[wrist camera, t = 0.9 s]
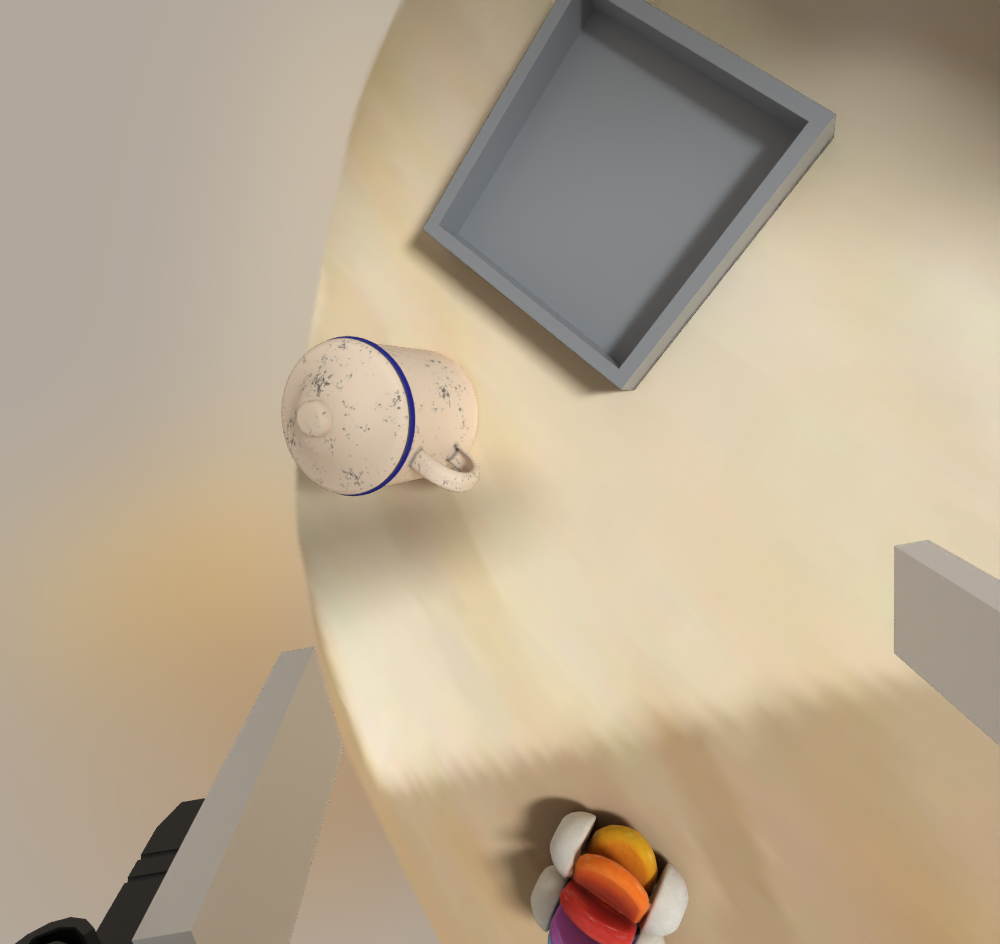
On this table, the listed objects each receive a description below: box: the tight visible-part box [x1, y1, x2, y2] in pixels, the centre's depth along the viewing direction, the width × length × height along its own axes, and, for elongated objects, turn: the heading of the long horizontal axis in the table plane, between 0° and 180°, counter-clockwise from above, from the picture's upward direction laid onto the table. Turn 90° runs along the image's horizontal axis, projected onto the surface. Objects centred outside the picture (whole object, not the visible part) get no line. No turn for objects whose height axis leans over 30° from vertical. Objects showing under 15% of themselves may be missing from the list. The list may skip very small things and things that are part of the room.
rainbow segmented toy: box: [531, 811, 688, 944], centre depth 39 cm, size 8×10×7 cm
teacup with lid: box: [282, 336, 480, 496], centre depth 39 cm, size 12×9×12 cm
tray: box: [423, 0, 836, 390], centre depth 36 cm, size 16×16×3 cm
